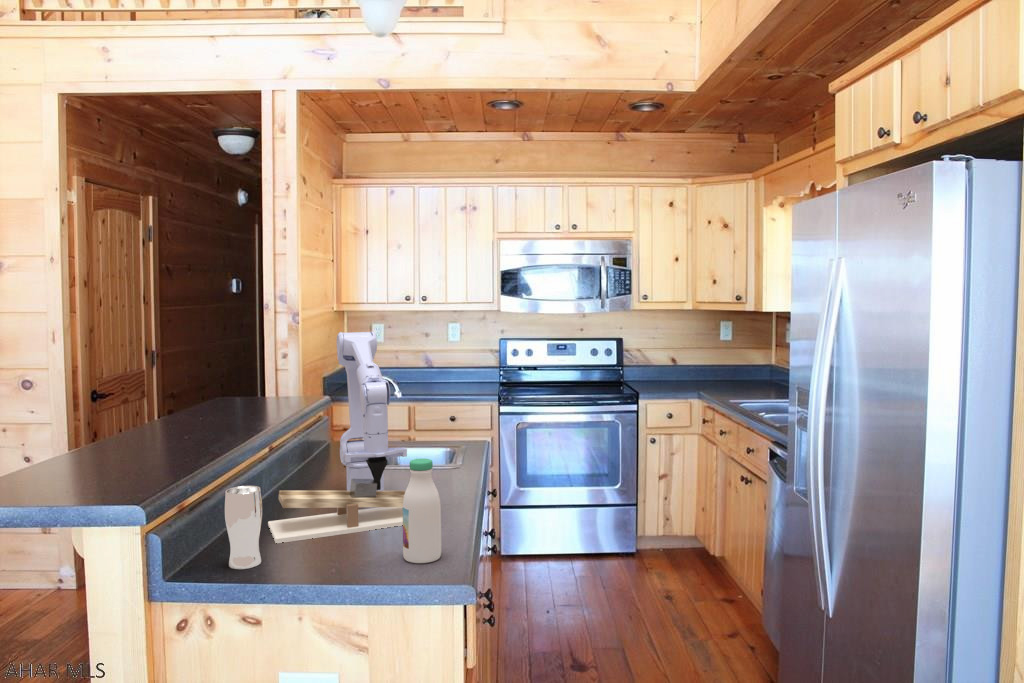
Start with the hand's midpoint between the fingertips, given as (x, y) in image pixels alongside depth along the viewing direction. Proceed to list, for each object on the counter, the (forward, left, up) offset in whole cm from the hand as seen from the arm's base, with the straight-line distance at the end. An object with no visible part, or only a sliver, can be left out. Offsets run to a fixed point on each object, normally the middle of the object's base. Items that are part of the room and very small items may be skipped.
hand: (377, 489), depth 173 cm
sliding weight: (+4, 0, -2) cm, 4 cm away
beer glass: (+31, +17, -8) cm, 36 cm away
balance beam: (+7, 0, -3) cm, 8 cm away
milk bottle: (-2, +29, -8) cm, 30 cm away
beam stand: (+7, 0, -8) cm, 10 cm away
